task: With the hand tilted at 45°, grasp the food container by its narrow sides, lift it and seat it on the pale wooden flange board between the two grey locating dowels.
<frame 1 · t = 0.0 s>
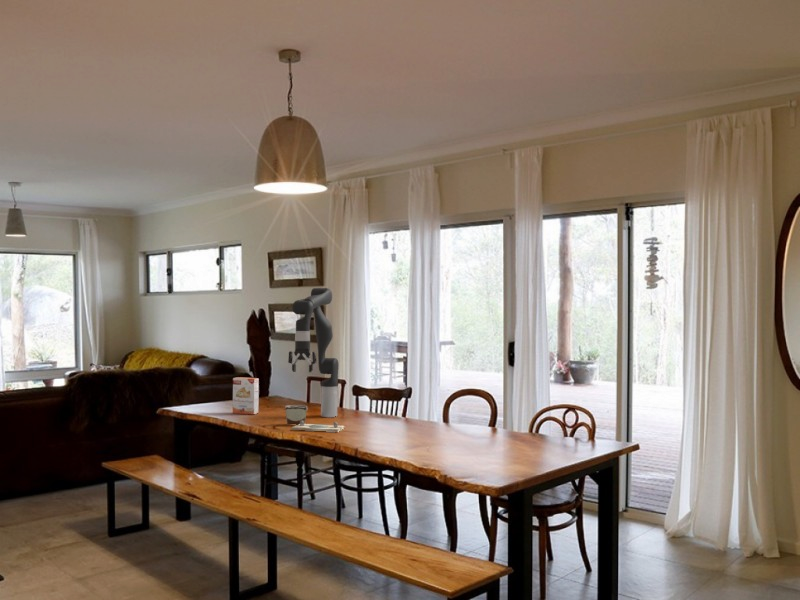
hand: (302, 371, 345), 29 cm above the table, tool pointing down, fingers open, 8 cm apart
cracker box: (245, 414, 396), on the table
flange board: (318, 429, 346), on the table
food container: (297, 424, 361), on the table
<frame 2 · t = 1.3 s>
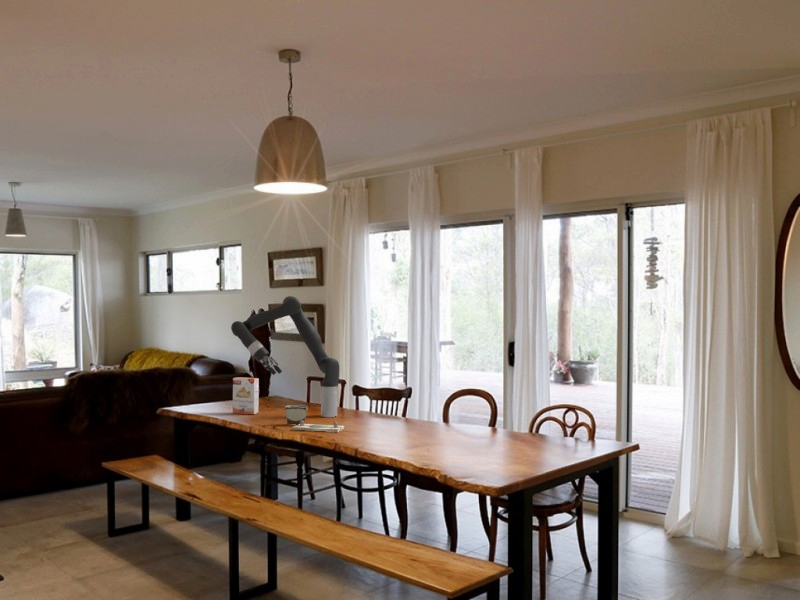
hand: (277, 373, 363), 27 cm above the table, tool tilted 45°, fingers open, 8 cm apart
nothing on the table moved.
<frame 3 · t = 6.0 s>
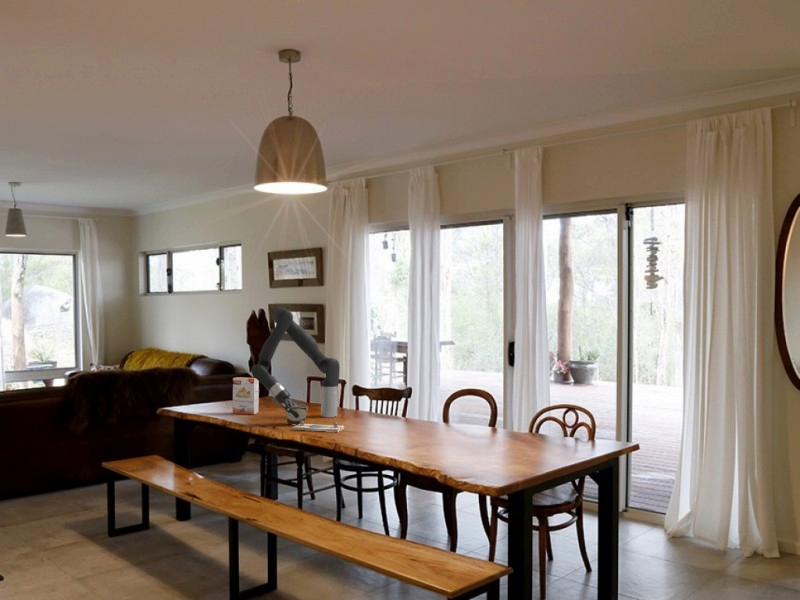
hand: (300, 416, 361), 4 cm above the table, tool tilted 45°, fingers closed on food container, 6 cm apart
food container: (297, 424, 361), on the table, touching gripper
everything else where it was.
when the fingers open (7 cm above the table, at t = 11.4 s): food container drops 1 cm, resting on flange board.
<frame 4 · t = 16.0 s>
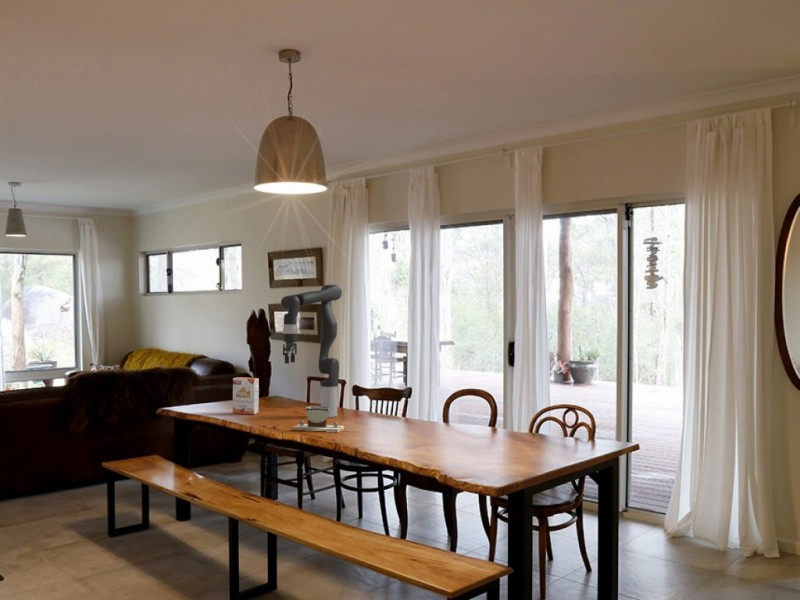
hand: (289, 362, 367), 32 cm above the table, tool pointing down, fingers open, 8 cm apart
food container: (318, 426, 346), point 1 cm above the table, touching flange board
everything else where it was.
at the end: food container inside the target area on the flange board (0.4 cm from its centre), point 1.4 cm above the flange board's base; food container tilted 0°; the gripper is holding nothing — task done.
